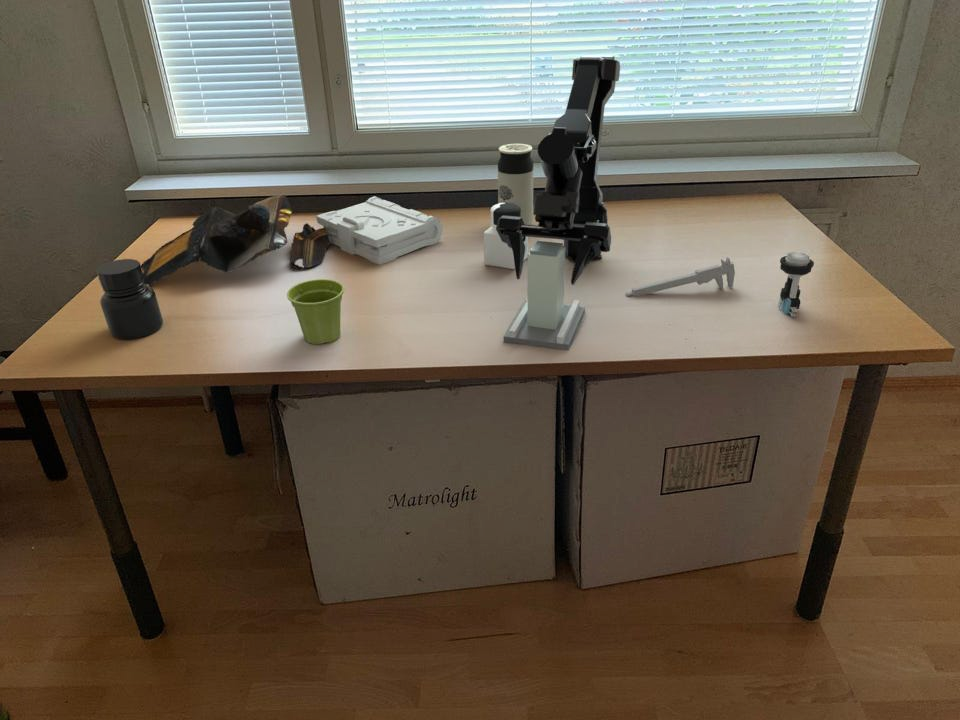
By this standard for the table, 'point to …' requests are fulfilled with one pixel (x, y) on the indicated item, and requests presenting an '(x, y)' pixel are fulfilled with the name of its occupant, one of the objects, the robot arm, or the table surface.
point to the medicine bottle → (493, 245)
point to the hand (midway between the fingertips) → (544, 281)
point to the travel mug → (516, 178)
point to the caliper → (691, 279)
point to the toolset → (237, 240)
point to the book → (380, 230)
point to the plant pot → (318, 309)
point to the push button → (793, 280)
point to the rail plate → (545, 336)
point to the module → (546, 284)
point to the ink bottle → (128, 300)
